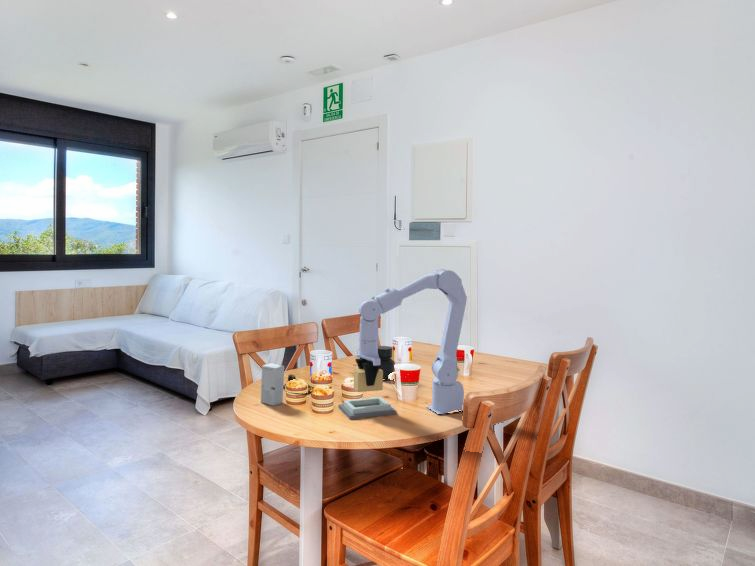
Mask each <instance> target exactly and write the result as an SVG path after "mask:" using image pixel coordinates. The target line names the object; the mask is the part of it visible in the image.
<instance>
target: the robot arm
mask: <svg viewBox="0 0 755 566" xmlns="http://www.w3.org/2000/svg"><path fill="white" fill-rule="evenodd" d="M426 289H430V290H439V291H441V292H442V293H443V294H444V296H445V297H446V299H448V301H449V303H448V307H447V311H446V317H445V323H444V328H443V332H442V338H441V343H440V349H439V351H438V352H437V354H436V358H435V360H433V362H432V365H431V371H432V373H433V374H434V377H433V379H432V386H431V387H432V388H431V389H432V390H431V391H432V393H431V404H428V405H426V408H427V407H428V408H427V409H429V410H430V409H431V410H430V411H431V412H433V411H434V412H433V413H435V412H436V413H437V414H436V413H435V414H436V415H438V414H442V415H444V414H443V413H448V412H451V411H454V410H458V411H459V410H461V412H460V413H463V412H462V405H463V406H464V403H463V400H465V389H464V386H463V384H462V382H461V381H460V380H458V378H459V377H458V376H459V371H458V368H457V367H458V357H457V351H458V346H459V341H460V335H461V331H462V326H463V320H464V316H465V310H466V306H467V299H468V297H467V294H466V291H465V288H464V286H463V281H462V279H461V278H460V276H459V275H458V274H457V273H456V272H455V271H453V270H449V269H443V268H440V269H438V270H436V271H433V272H430V273H427V274H425V275H423V276H421V277H419V278H417V279H416V280H414V281H412V282H410V283H408V284H407V285H405V286H403V287H401V288H399V289H396V288H393V287H392V288H385V289H384V292H382V293H379V294H378V295H376V296H374V295H373V296H371V297H370V299H371V300H370V299H367V300H364V301H363V302H362V303H361V304H360V305H359V308H358V310H359V311H358V312H359V314H360V317H359V318H360V319H359V322H360V323H359V332H358V333H359V334H358V335H359V338H358V339H359V342H358V347H359V348H357V350H356V351H357V352H356V353H355V356H354V357H356V358H355V362H356V364H357V367H358V368H357V369H364V370H365V375H366V384H367V386H373V385H374V383H375V380H376V376H377V373H378V371H379V369H380V367H381V363H380V358H379V355H378V346H379V324H378V323H379V317H380V316H381V315H383V314H385V313H388V312H389V311H392V310H393V309H395V308H397V307H399V306H401V305H402V303H403V300H404V299H406V298H409V297H410V296H413V295H415V294H416V293H417V294H418V293H419V292H422V291H424V290H426Z"/></svg>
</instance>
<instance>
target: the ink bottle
mask: <svg viewBox="0 0 755 566" xmlns="http://www.w3.org/2000/svg"><path fill="white" fill-rule="evenodd" d="M378 355H379V358H380V363H381V367H380V369H381V370H383V379H388V375H389V374H390V373H392V372H394V365H395V364H396V363H395V360H393V358H392V357H393V347H392V346H388V345H378Z"/></svg>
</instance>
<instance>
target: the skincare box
mask: <svg viewBox="0 0 755 566" xmlns="http://www.w3.org/2000/svg"><path fill="white" fill-rule="evenodd" d="M284 376H285V366H284V365H281V364H277V363H273V362H272V363H271V362H270V363H266V364H264V365H262V366H261V385H260V386H261V387H260V403H263V404H266V405H269V406H278V405H280V404H282V403H283V402H284V401H283V400H284V399H283V398H284V389H283V386H284V384H285V383H284V380H285V379H284V378H285V377H284Z"/></svg>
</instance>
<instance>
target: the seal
mask: <svg viewBox="0 0 755 566" xmlns="http://www.w3.org/2000/svg"><path fill="white" fill-rule="evenodd" d="M293 379H296V380H297V378H296V375H295V374H288V376H287V382H288V381H290V380H293ZM287 382H286V383H287ZM286 383H284V384H283V391H286V390H285V386H286ZM311 387H312V385H310V384H308V394H310V393H311V392H310V390H311Z"/></svg>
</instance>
